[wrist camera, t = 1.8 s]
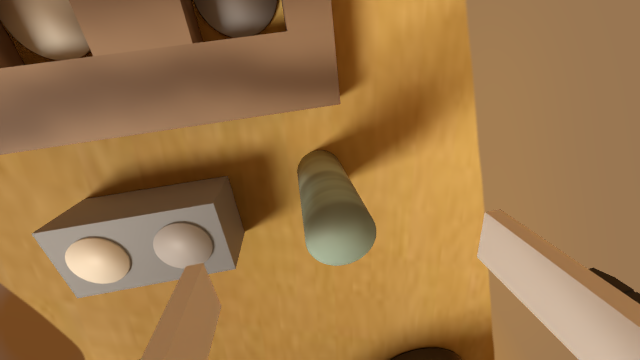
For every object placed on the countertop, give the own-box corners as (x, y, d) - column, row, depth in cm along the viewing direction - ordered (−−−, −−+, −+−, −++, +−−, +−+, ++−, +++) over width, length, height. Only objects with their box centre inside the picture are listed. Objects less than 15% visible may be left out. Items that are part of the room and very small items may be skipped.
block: (244, 232, 25) (235, 270, 20) (116, 254, 24) (75, 300, 20) (227, 175, 23) (212, 204, 18) (84, 199, 22) (28, 235, 17)
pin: (342, 187, 24) (377, 258, 15) (301, 194, 24) (310, 271, 15) (338, 146, 23) (374, 199, 14) (293, 154, 23) (300, 212, 13)
